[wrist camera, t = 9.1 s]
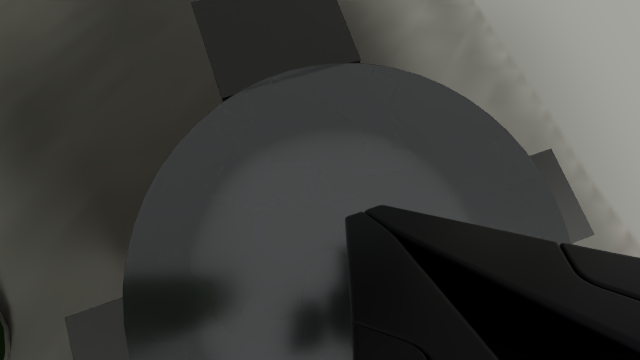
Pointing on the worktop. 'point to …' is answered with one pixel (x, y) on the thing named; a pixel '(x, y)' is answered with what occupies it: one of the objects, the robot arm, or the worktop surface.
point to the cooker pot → (108, 320)
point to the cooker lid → (303, 187)
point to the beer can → (4, 339)
